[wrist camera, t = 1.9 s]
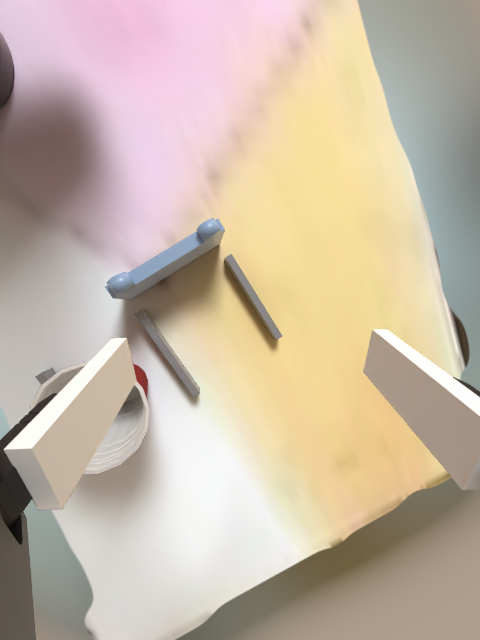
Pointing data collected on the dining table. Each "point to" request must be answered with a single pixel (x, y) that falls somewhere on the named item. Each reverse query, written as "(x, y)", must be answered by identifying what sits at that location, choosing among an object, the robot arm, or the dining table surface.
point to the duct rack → (161, 268)
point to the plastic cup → (125, 426)
